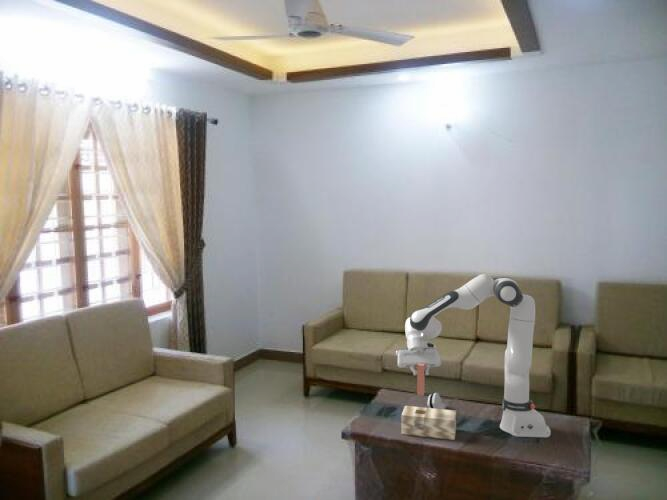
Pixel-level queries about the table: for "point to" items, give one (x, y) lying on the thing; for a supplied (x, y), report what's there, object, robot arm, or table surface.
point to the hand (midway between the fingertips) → (421, 374)
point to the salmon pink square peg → (420, 379)
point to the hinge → (435, 402)
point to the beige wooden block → (428, 422)
